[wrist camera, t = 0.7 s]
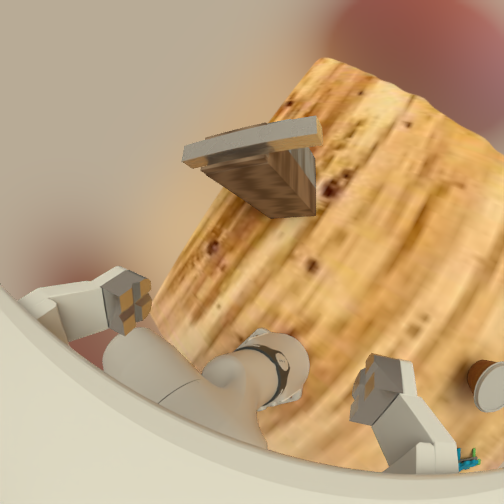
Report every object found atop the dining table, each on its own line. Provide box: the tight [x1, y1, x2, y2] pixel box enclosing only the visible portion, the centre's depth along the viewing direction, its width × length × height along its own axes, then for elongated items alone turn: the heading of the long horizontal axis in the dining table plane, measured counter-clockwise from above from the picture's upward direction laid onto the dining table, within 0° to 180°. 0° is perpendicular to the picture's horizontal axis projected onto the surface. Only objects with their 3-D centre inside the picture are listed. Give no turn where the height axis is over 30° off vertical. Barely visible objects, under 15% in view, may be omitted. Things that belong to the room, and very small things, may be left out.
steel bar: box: [182, 116, 323, 169], centre depth 39 cm, size 22×3×3 cm, turn 85°
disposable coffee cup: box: [467, 360, 504, 412], centre depth 32 cm, size 10×10×12 cm
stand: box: [201, 119, 316, 219], centre depth 53 cm, size 11×14×28 cm
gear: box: [457, 448, 480, 472], centre depth 32 cm, size 11×6×10 cm
